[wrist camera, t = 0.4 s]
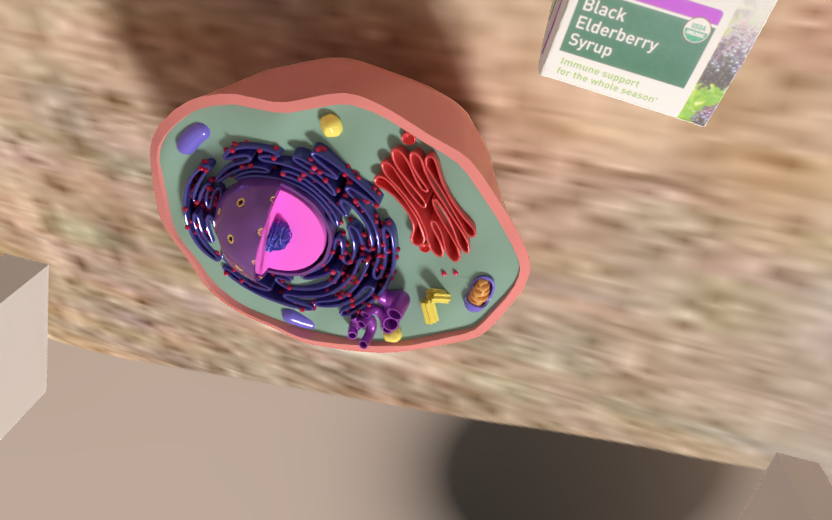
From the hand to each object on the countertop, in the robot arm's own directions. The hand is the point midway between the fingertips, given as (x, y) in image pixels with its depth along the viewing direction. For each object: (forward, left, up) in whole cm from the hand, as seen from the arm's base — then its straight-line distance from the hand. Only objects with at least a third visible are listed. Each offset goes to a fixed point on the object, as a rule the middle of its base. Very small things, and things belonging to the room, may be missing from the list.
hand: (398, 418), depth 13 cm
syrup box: (-5, 0, -28) cm, 29 cm away
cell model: (+13, +8, -28) cm, 32 cm away
